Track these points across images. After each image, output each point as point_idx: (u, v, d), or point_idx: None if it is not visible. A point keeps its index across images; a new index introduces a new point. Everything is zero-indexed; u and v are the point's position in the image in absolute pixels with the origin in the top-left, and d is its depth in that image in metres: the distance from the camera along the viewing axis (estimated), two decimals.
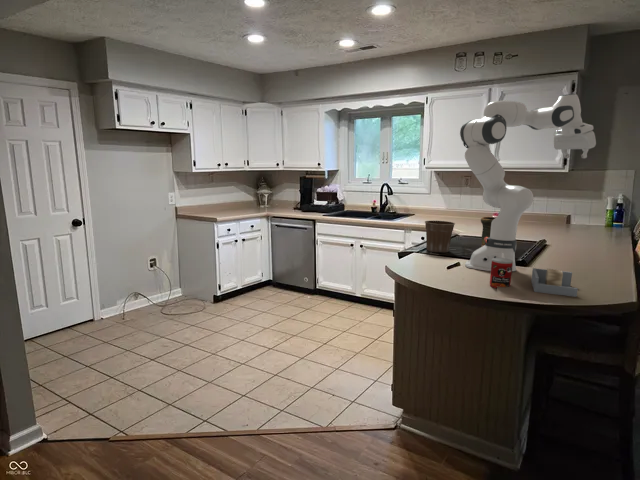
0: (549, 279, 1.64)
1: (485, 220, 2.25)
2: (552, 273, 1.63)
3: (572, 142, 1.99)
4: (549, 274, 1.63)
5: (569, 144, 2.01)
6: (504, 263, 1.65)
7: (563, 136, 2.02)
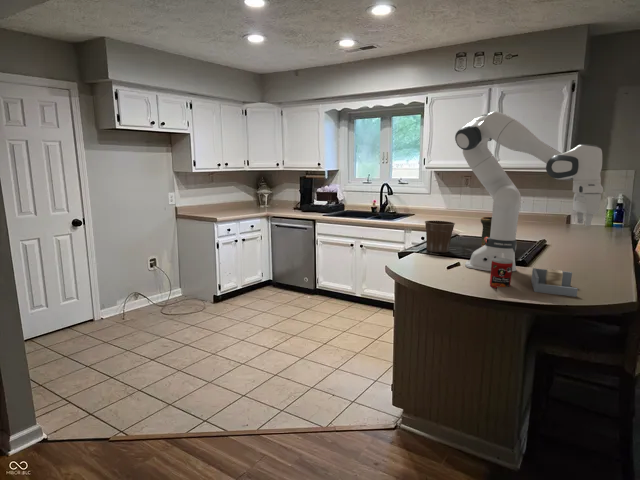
0: (549, 279, 1.64)
1: (485, 220, 2.25)
2: (552, 273, 1.63)
3: (580, 203, 1.60)
4: (549, 274, 1.63)
5: (579, 205, 1.62)
6: (504, 263, 1.65)
7: None
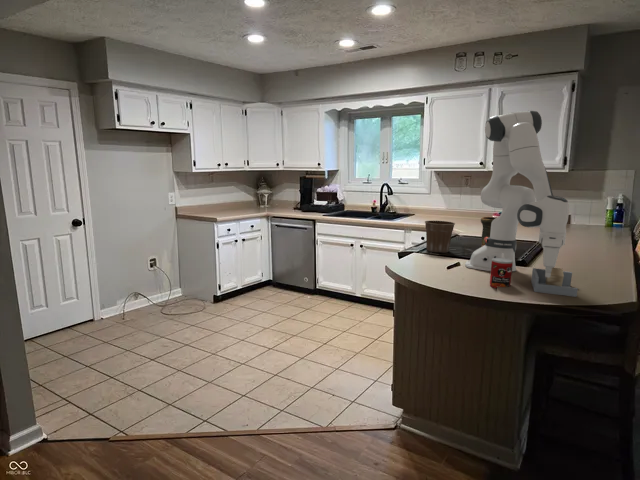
0: (549, 281, 1.62)
1: (485, 220, 2.25)
2: (553, 275, 1.61)
3: None
4: None
5: None
6: (504, 263, 1.65)
7: None
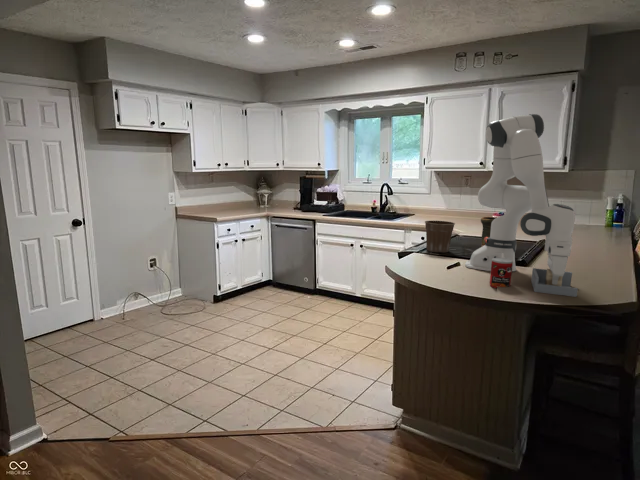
0: (549, 279, 1.64)
1: (485, 220, 2.25)
2: None
3: (551, 261, 1.64)
4: (549, 274, 1.63)
5: (550, 263, 1.66)
6: (504, 263, 1.65)
7: None
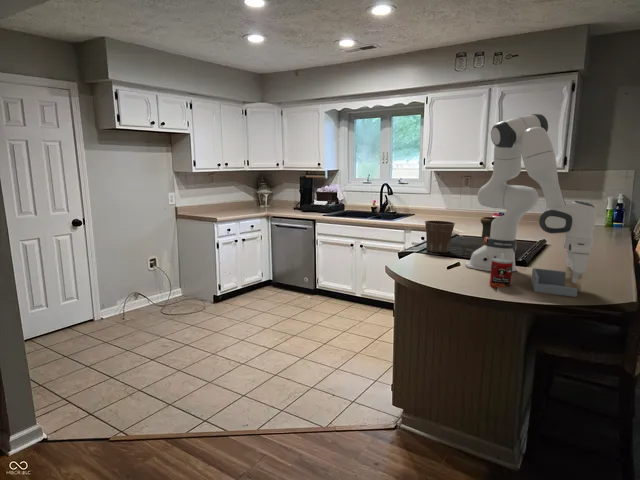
0: (569, 277, 1.61)
1: (485, 220, 2.25)
2: None
3: (570, 259, 1.61)
4: (569, 272, 1.60)
5: (569, 261, 1.63)
6: (504, 263, 1.65)
7: None
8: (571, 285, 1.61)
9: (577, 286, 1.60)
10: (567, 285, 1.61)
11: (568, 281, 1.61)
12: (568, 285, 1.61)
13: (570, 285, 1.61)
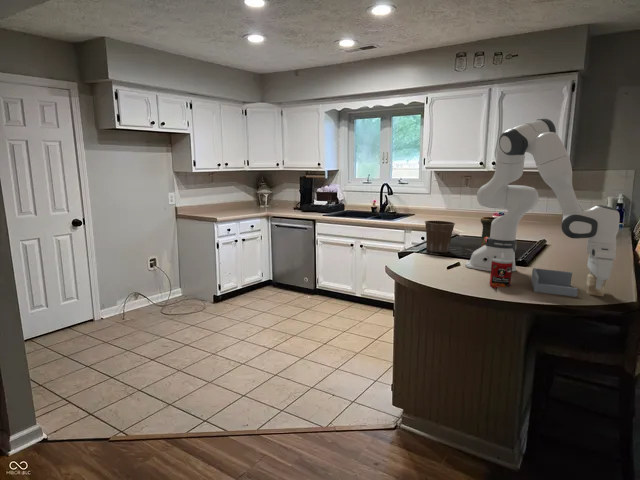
0: (591, 285, 1.58)
1: (485, 220, 2.25)
2: (594, 279, 1.58)
3: (593, 264, 1.58)
4: (591, 280, 1.58)
5: (592, 266, 1.60)
6: (504, 263, 1.65)
7: None
8: (593, 293, 1.59)
9: (599, 294, 1.58)
10: (589, 293, 1.59)
11: (590, 289, 1.59)
12: (590, 293, 1.59)
13: (592, 293, 1.59)
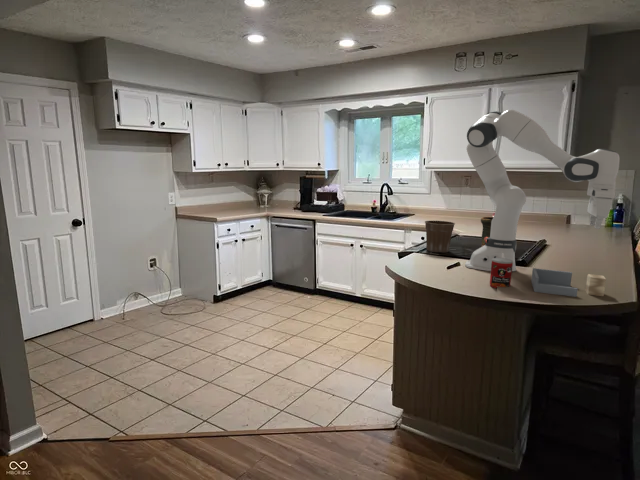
0: (591, 285, 1.58)
1: (485, 220, 2.25)
2: (594, 279, 1.58)
3: (593, 206, 1.66)
4: (591, 280, 1.58)
5: (592, 208, 1.68)
6: (504, 263, 1.65)
7: None
8: (593, 293, 1.59)
9: (599, 294, 1.58)
10: (589, 293, 1.59)
11: (590, 289, 1.59)
12: (590, 293, 1.59)
13: (592, 293, 1.59)
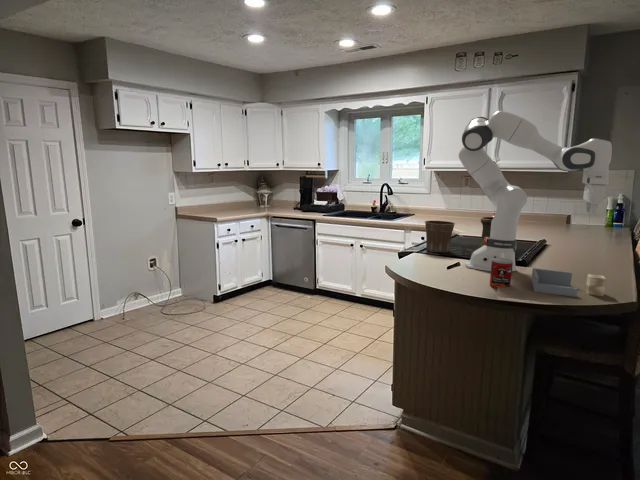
0: (591, 285, 1.58)
1: (485, 220, 2.25)
2: (594, 279, 1.58)
3: (588, 193, 1.74)
4: (591, 280, 1.58)
5: (587, 195, 1.76)
6: (504, 263, 1.65)
7: None
8: (593, 293, 1.59)
9: (599, 294, 1.58)
10: (589, 293, 1.59)
11: (590, 289, 1.59)
12: (590, 293, 1.59)
13: (592, 293, 1.59)
